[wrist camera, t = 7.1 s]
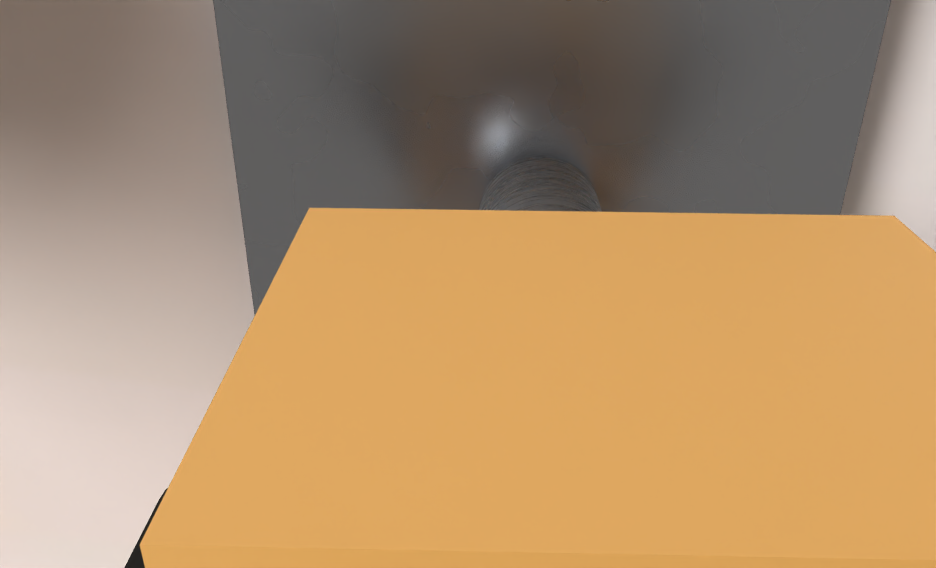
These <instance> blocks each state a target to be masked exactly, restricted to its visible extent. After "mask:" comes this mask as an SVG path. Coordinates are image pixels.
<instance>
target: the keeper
mask: <svg viewBox="0 0 936 568" xmlns="http://www.w3.org/2000/svg"><path fill="white" fill-rule="evenodd" d="M890 2H891V0H213V3H214V10H215V18H216V25H217V33H218V41H219V48H220V56H221V63H222V71H223V78H224V86H225V94H226V101H227V109H228V116H229V124H230V132H231V139H232V147H233V154H234V162H235V170H236V177H237V185H238V192H239V200H240V208H241V215H242V223H243V230H244V238H245V245H246V253H247V261H248V268H249V276H250V283H251V291H252V299H253V306H254V314H255V315H256V313H257V311H258V309H259V307H260V305H261V303H262V301H263V299H264V297H265V295H266V293H267V291H268V289H269V287H270V285H271V283H272V281H273V279H274V277H275V275H276V273H277V271H278V269H279V267H280V265H281V263H282V261H283V259H284V257H285V255H286V253H287V251H288V249H289V247H290V245H291V243H292V241H293V239H294V237H295V235H296V233H297V231H298V229H299V227H300V225H301V223H302V221H303V219H304V217H305V215H306V213H307V211H308V209H309V208H364V209H437V210H510V211H582V212H655V213H728V214H801V215H840V213H841V208H842V204H843V200H844V196H845V192H846V187H847V183H848V179H849V175H850V171H851V166H852V162H853V158H854V154H855V150H856V145H857V141H858V137H859V133H860V128H861V124H862V120H863V116H864V112H865V107H866V103H867V99H868V95H869V91H870V86H871V82H872V78H873V74H874V70H875V65H876V61H877V57H878V53H879V49H880V44H881V40H882V36H883V32H884V28H885V23H886V19H887V15H888V11H889V6H890Z"/></svg>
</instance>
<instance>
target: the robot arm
mask: <svg viewBox="0 0 936 568" xmlns="http://www.w3.org/2000/svg"><path fill="white" fill-rule="evenodd" d="M167 489H168V488H167ZM167 489H166V490H165V491H164V493H163V495H162V496H161V498H160V499H159V501H158V503H157V505H156V507H155V509H154V511H153V513H152V515H151V517H150V519H149V521H148V522H147V524H146V526H145V528H144V530H143V532H142V534H141V536H140V538H139V540H138V542H137V544H136V546H135V548H134V550H133V552H132V554H131V556H130V558H129V560H128V562H127V564H126V566H125V568H145V565H144V561H143V557H142V553H141V549H140V543H141V541H142V539H143V537H144V535H145V533H146V531H147V529H148V527H149V525H150V523H151V521H152V519H153V517H154V515H155V513H156V511H157V509H158V507H159V505H160V503H161V501H162V499H163V497H164V495H165V493H166V491H167Z"/></svg>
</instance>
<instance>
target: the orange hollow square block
mask: <svg viewBox="0 0 936 568" xmlns="http://www.w3.org/2000/svg"><path fill="white" fill-rule="evenodd" d="M140 549H141V553H142V557H143V561H144V565H145V568H936V252H935V251H934V250H933V249H932V248H930V247H929V246H928V245H927V244H926V243H925V242H924V241H922V240H921V239H920V238H919V237H918V236H917V235H916V234H914V233H913V232H912V231H911V230H910V229H909V228H908V227H906V226H905V225H904V224H903V223H902V222H901V221H900V220H898V219H897V218H896V217H895V216H874V215H801V214H728V213H655V212H582V211H510V210H437V209H364V208H309V209H308V211H307V213H306V215H305V217H304V219H303V221H302V223H301V225H300V227H299V229H298V231H297V233H296V235H295V237H294V239H293V241H292V243H291V245H290V247H289V249H288V251H287V253H286V255H285V257H284V259H283V261H282V263H281V265H280V267H279V269H278V271H277V273H276V275H275V277H274V279H273V281H272V283H271V285H270V287H269V289H268V291H267V293H266V295H265V297H264V299H263V301H262V303H261V305H260V307H259V309H258V311H257V313H256V315H255V317H254V319H253V321H252V323H251V325H250V327H249V329H248V331H247V332H246V334H245V336H244V338H243V340H242V342H241V344H240V346H239V348H238V350H237V352H236V354H235V356H234V358H233V360H232V362H231V364H230V366H229V368H228V370H227V372H226V374H225V376H224V378H223V380H222V382H221V384H220V386H219V388H218V390H217V392H216V394H215V396H214V398H213V400H212V402H211V404H210V406H209V408H208V410H207V412H206V414H205V416H204V418H203V420H202V422H201V424H200V426H199V428H198V430H197V432H196V434H195V436H194V438H193V440H192V442H191V444H190V446H189V448H188V450H187V452H186V454H185V456H184V458H183V460H182V462H181V463H180V465H179V467H178V469H177V471H176V473H175V475H174V477H173V479H172V481H171V483H170V485H169V487H168V489H167V491H166V493H165V495H164V497H163V499H162V501H161V503H160V505H159V507H158V509H157V511H156V513H155V515H154V517H153V519H152V521H151V523H150V525H149V527H148V529H147V531H146V533H145V535H144V537H143V539H142V541H141V543H140Z"/></svg>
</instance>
